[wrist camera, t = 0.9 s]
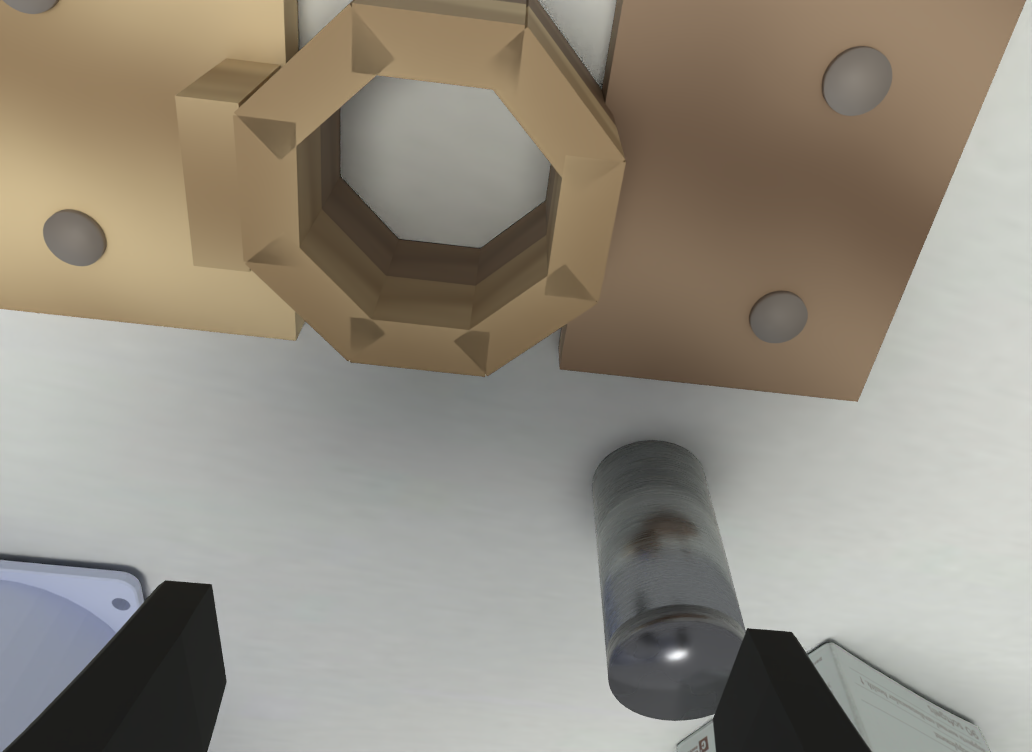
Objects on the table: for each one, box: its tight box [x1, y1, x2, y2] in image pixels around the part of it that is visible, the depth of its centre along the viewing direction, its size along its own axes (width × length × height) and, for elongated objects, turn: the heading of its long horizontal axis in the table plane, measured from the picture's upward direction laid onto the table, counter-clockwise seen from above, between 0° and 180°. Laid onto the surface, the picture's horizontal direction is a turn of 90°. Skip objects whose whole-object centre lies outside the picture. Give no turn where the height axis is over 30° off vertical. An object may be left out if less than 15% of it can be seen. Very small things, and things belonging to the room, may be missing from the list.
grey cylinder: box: [592, 441, 746, 721], centre depth 20 cm, size 3×3×6 cm
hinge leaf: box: [0, 0, 626, 377], centre depth 16 cm, size 9×13×4 cm
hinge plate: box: [320, 0, 1026, 402], centre depth 17 cm, size 9×13×2 cm
